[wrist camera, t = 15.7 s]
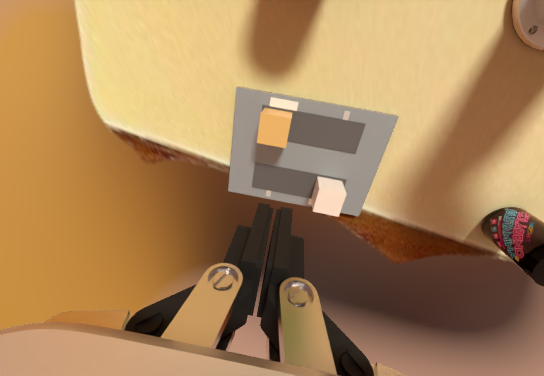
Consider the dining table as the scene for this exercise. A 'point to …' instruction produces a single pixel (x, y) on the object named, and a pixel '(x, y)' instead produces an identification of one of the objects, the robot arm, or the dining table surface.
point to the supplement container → (518, 239)
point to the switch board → (307, 149)
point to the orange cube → (274, 127)
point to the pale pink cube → (328, 196)
